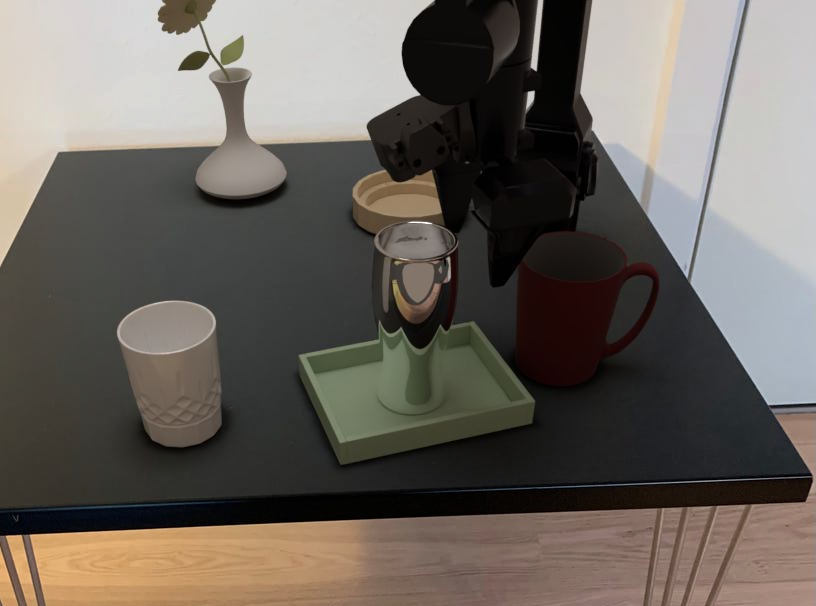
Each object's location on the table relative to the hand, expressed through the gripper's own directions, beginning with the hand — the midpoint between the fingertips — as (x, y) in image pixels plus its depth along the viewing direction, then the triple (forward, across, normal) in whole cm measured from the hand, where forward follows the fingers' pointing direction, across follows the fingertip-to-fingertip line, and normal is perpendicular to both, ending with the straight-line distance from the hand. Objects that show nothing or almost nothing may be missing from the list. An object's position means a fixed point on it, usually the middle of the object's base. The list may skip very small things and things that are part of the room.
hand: (474, 258), depth 73 cm
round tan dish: (+13, -34, +7) cm, 37 cm away
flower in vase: (+13, -48, -11) cm, 51 cm away
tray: (+13, 0, -5) cm, 14 cm away
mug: (+13, 0, +11) cm, 17 cm away
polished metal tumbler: (+13, 0, -5) cm, 14 cm away
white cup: (+13, -3, -25) cm, 28 cm away
